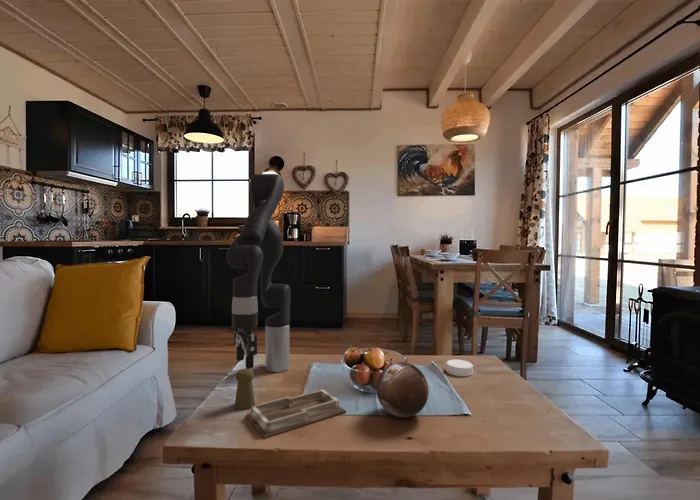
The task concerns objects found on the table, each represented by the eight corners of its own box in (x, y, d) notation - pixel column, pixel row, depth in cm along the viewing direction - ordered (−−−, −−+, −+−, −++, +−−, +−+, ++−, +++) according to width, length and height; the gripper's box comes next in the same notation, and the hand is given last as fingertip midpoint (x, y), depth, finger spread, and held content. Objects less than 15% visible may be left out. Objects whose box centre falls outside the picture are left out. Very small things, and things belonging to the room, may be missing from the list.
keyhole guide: (246, 416, 104) (246, 405, 104) (321, 395, 118) (321, 386, 118) (264, 438, 93) (264, 426, 92) (345, 412, 107) (345, 402, 107)
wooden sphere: (366, 416, 105) (366, 365, 104) (392, 398, 116) (393, 352, 116) (413, 433, 95) (413, 377, 95) (436, 412, 107) (437, 362, 107)
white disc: (476, 377, 136) (476, 368, 135) (449, 377, 136) (449, 367, 136) (468, 367, 146) (468, 359, 145) (443, 367, 146) (443, 358, 146)
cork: (230, 407, 109) (230, 371, 109) (243, 399, 115) (243, 365, 115) (246, 411, 107) (246, 374, 107) (259, 403, 113) (259, 367, 112)
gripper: (225, 308, 114) (225, 360, 114) (240, 316, 102) (240, 373, 102) (249, 306, 118) (248, 356, 118) (265, 313, 106) (265, 368, 107)
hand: (244, 364), depth 110 cm, fingers open, 8 cm apart
